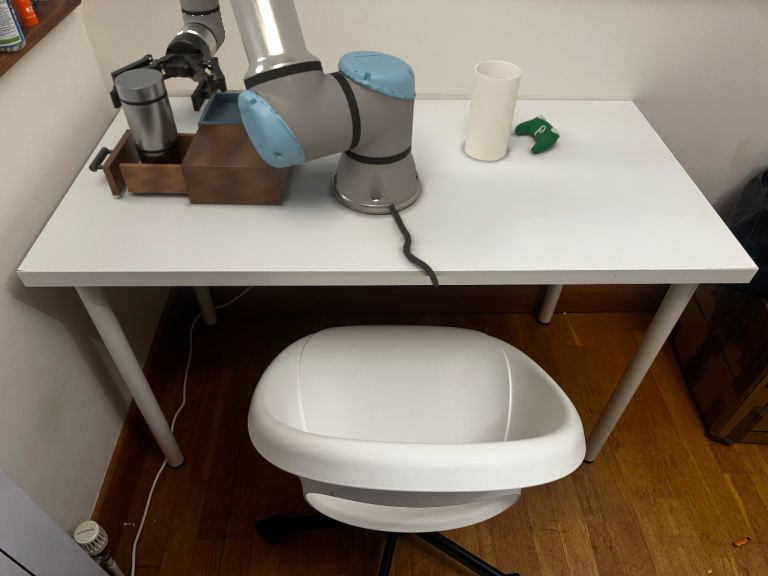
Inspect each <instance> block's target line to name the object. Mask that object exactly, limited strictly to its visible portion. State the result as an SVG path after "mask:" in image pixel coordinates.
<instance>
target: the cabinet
mask: <svg viewBox="0 0 768 576" xmlns="http://www.w3.org/2000/svg"><path fill="white" fill-rule="evenodd" d="M195 133H196V134H195V136H194V138H193V141H192V143H191V145H190V147H189V149H188V151H187V153H186V155H185V157H184V159H183V161H182V163H181V165H180V166H181V169H182V174H183V177H184V181H185V185H186V188H187V192H188V193H187V196H188V200H189V203H190V204H193V205H233V206H234V205H236V206H237V205H239V206H240V205H241V206H242V205H243V206H282V204H283V200H284V196H285V191H286V187H287V183H288V179H289V178H288V177H289V174H290V170H291V166H288V167H283V168H276V167H273V166H271V165H269V164H268V163H267V162H266V161H264V159H263V158H262V157H261V156H260V155H259V153H258V152H257V150H256V149H255V147H254V145H253V143H252V142H251V140H250V138H249V136H248V133H247V131H246V129H245V126H244V125H209V124H200V126H199V127H198V128H197V130H196V132H195Z"/></svg>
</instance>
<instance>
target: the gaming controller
mask: <svg viewBox="0 0 768 576" xmlns="http://www.w3.org/2000/svg"><path fill="white" fill-rule="evenodd" d="M514 133H515V134H516V135H518V136H519V135H520V136H521V135H527V134H531V136H532V137H533V138H534V139H535V140H536V142H535V143H534V144H533V146H532V147H531V149H530V151H531V152H532V153H534V154H537V153H540V152H543V151H546V150H547V149H549V148H550V147H552V146H553V145H554V144H556V143H557V141H558V140H559V138H560V132H559V131H558V130H557V128H555V127H554V126H553V125H552V124H551V123H550V122H548V121H547V119H546V118H545V117H544V116H543V115H542V114H541V113H539V114H538V115H537V116H535V117H534V118H532V119H529V120H526V121H522V122H521V123H518V124H517V125H515V128H514Z"/></svg>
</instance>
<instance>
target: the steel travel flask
mask: <svg viewBox="0 0 768 576" xmlns="http://www.w3.org/2000/svg"><path fill="white" fill-rule="evenodd" d="M162 73H163V72H162ZM162 73H161V72H159V71H157V70H154V69H134V70H130V71H126V72H124V73H122V74H120V75H118V76H117V77H116V78H115V80H114V82H115V85H116V88H117V91H118V94H119V99H120V101H121V104H122V106H121V107H122V109H123V112H124V116H125V119H126V122H127V125H128V129H130V131H131V134H132V137H133V140H134V144H135V147H136V149H137V152H138V155H139V159H140V162H139V163H140V164H180V165H181V163H182V161H183V159H184V154H183V151H182V147H181V143H180V138H179V135H178V133H179V131H178V128H177V124H176V120H175V117H174V113H173V110H172V109H173V108H172V105H171V101H170V98H169V94H168V90H167V86H166V82H165V80H164V79H163V75H162ZM114 82H113V83H114Z"/></svg>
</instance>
